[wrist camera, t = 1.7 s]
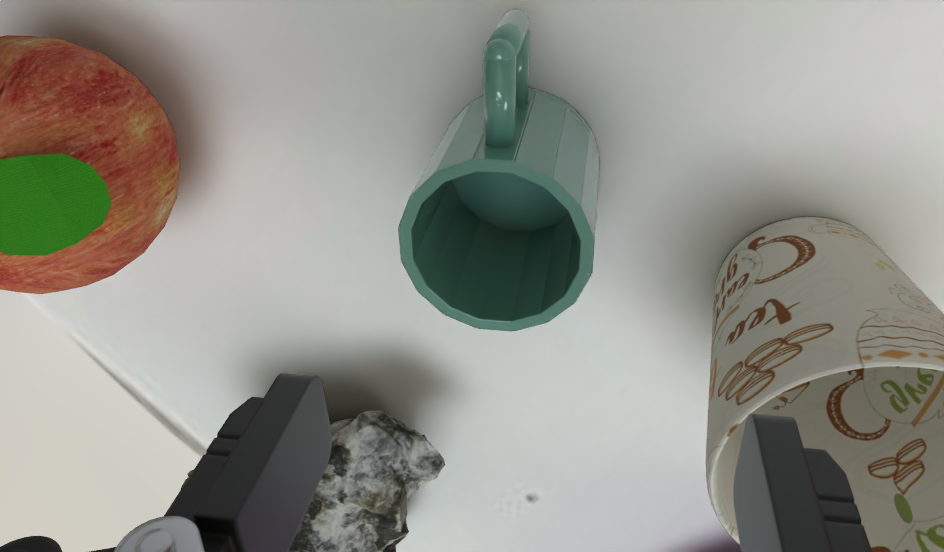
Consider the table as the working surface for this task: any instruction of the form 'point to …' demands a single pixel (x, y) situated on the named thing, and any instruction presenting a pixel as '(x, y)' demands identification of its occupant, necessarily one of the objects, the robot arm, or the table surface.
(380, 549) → the rock
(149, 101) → the fruit
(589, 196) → the green mug
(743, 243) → the mug
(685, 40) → the table surface
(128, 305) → the table surface
